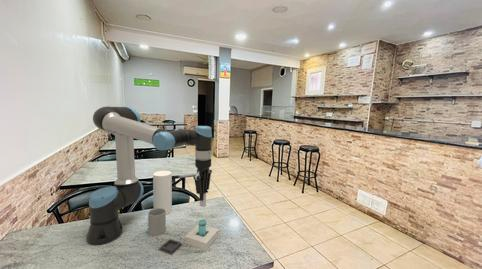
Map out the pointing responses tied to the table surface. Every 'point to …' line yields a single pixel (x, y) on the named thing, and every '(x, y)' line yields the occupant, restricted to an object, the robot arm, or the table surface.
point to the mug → (156, 221)
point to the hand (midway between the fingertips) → (202, 205)
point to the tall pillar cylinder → (162, 190)
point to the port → (200, 241)
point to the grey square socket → (170, 247)
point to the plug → (202, 228)
